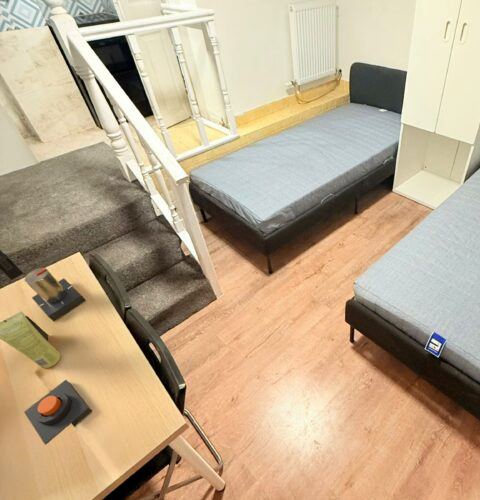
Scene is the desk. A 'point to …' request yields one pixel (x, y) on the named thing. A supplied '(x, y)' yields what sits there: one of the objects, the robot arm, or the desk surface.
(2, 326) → the tube
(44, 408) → the button
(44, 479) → the desk surface
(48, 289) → the dial
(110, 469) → the desk surface
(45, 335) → the battery charger
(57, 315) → the dial panel
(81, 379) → the desk surface
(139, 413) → the desk surface
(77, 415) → the dark grey base plate
